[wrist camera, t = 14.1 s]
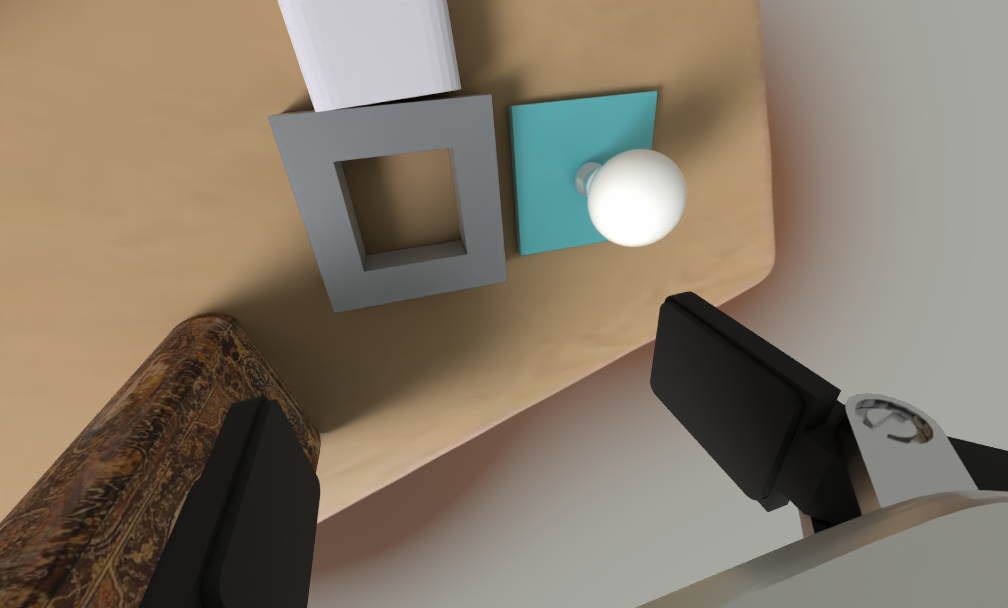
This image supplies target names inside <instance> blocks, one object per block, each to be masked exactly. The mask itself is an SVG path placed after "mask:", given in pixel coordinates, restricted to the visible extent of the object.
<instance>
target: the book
mask: <svg viewBox="0 0 1008 608" xmlns="http://www.w3.org/2000/svg"><path fill="white" fill-rule="evenodd" d="M261 395H265V396H266V397H267V398H268V399H269V400H273V399H276V400H277V401H278V402H279V403H280V405H281V407H282V409H283V411H284V413H285V415H286V417H287V419H288V421H289V422H290V424H291V426H292V428H293V430H294V432H295V434H296V436H297V438H298V440H299V442H300V444H301V446H302V448H303V450H304V452H305V453H306V455H307V457H308V459H309V461H310V463H311V465H312V467H313V469H314V471H315V473H316V469H317V464H318V459H319V453H320V445H321V440H320V435H319V433H318V431H317V430H316V429H315V427H314V426H313V424H312V423H311V421H310V420H309V418H308V417H307V416H306V414H305V413H304V411H303V410H302V409H301V407H300V406H299V405H298V403H297V402H296V400H295V399H294V398H293V396H292V395H291V394H290V392H289V391H288V390H287V388H286V387H285V386H284V384H283V383H282V382H281V380H280V379H279V377H278V376H277V375H276V373H275V372H274V371H273V369H272V368H271V367H270V365H269V364H268V363H267V361H266V360H265V359H264V357H263V356H262V355H261V353H260V352H259V350H258V349H257V348H256V346H255V345H254V344H253V342H252V341H251V340H250V338H249V337H248V336H247V334H246V333H245V332H244V330H243V329H242V328H241V326H240V325H239V323H238V322H237V321H236V319H234V318H232V317H229V316H226V315H220V314H208V315H201V316H197V317H193V318H190V319H188V320H186V321H183V322H182V323H180V324H179V325H177V326H176V327H175V328H174V329H173V330H172V331H171V332H170V334H169V335H168V336H167V337H166V338H165V339H164V340H163V341H162V342H161V344H160V345H159V346H158V347H157V348H156V349H155V350H154V351H153V353H152V354H151V355H150V356H149V357H148V358H147V359H146V360H145V362H144V363H143V364H142V365H141V366H140V367H139V368H138V369H137V370H136V372H135V373H134V374H133V375H132V376H131V377H130V378H129V379H128V381H127V382H126V383H125V384H124V385H123V386H122V387H121V388H120V390H119V391H118V392H117V393H116V394H115V395H114V396H113V397H112V398H111V400H110V401H109V402H108V403H107V404H106V405H105V406H104V407H103V409H102V410H101V411H100V412H99V413H98V414H97V415H96V416H95V418H94V419H93V420H92V421H91V422H90V423H89V424H88V425H87V426H86V428H85V429H84V430H83V431H82V432H81V433H80V434H79V435H78V437H77V438H76V439H75V440H74V441H73V442H72V443H71V444H70V446H69V447H68V448H67V449H66V450H65V451H64V452H63V453H62V454H61V456H60V457H59V458H58V459H57V460H56V461H55V462H54V463H53V465H52V466H51V467H50V468H49V469H48V470H47V471H46V472H45V474H44V475H43V476H42V477H41V478H40V479H39V480H38V481H37V482H36V484H35V485H34V486H33V487H32V488H31V489H30V490H29V491H28V493H27V494H26V495H25V496H24V497H23V498H22V499H21V500H20V502H19V503H18V504H17V505H16V506H15V507H14V508H13V509H12V510H11V512H10V513H9V514H8V515H7V516H6V517H5V518H4V519H3V521H2V522H1V523H0V608H138V607H139V605H140V603H141V600H142V598H143V596H144V594H145V591H146V589H147V587H148V584H149V582H150V580H151V577H152V575H153V573H154V571H155V568H156V566H157V564H158V561H159V559H160V557H161V554H162V552H163V550H164V548H165V545H166V543H167V541H168V538H169V536H170V534H171V531H172V529H173V527H174V524H175V522H176V520H177V518H178V515H179V513H180V511H181V508H182V506H183V504H184V501H185V499H186V497H187V495H188V492H189V490H190V488H191V487H192V485H193V483H194V482H195V481H196V480H197V479H198V478H199V477H200V476H201V474H202V472H203V469H204V467H205V464H206V462H207V460H208V457H209V455H210V453H211V450H212V448H213V445H214V443H215V441H216V438H217V436H218V434H219V431H220V429H221V427H222V424H223V422H224V419H225V417H226V415H227V412H228V410H229V408H230V406H231V404H232V403H234V402H236V401H241V400H245V399H249V398H253V397H257V396H261Z"/></svg>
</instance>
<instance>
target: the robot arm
mask: <svg viewBox="0 0 1008 608" xmlns="http://www.w3.org/2000/svg"><path fill="white" fill-rule="evenodd" d="M650 384H651V388H652V390H653V392H654V394H655V395H656V396H657V397H658V398H659V399H660V400H661V401H662V403H663V404H664V405H665V406H666V407H667V408H668V409H669V410H670V411H671V413H672V414H673V415H674V416H675V417H676V418H677V419H678V420H679V421H680V423H681V424H682V425H683V426H684V427H685V428H686V429H687V430H688V431H689V433H690V434H691V435H692V436H693V437H694V438H695V439H696V440H697V441H698V442H699V444H700V445H701V446H702V447H703V448H704V449H705V450H706V451H707V452H708V454H709V455H710V456H711V457H712V458H713V459H714V460H715V461H716V462H717V463H718V465H719V466H720V467H721V468H722V469H723V470H724V471H725V472H726V473H727V474H728V476H729V477H730V478H731V479H732V480H733V481H734V482H735V483H736V484H737V486H738V487H739V488H740V489H741V490H742V491H743V492H744V493H745V494H746V495H747V496H748V497H749V498H751V499H753V500H757V501H758V502H759V503H760V504H761V505H762V507H764V509H765V510H766V511H767V512H770V511H772V510H775V509H777V508H780V507H782V506H785V505H787V504H788V502H789V500H790V501H791V502H792V503H793V504H794V505H795V506H796V507H797V508H798V510H799V516H800V521H801V526H802V532H803V537H804V538H803V539H801V540H799V541H796V542H794V543H791V544H789V545H786V546H784V547H781V548H779V549H777V550H774V551H772V552H769V553H767V554H765V555H762V556H760V557H757V558H755V559H752V560H750V561H748V562H745V563H743V564H740V565H738V566H735V567H733V568H731V569H728V570H726V571H723V572H721V573H718V574H716V575H713V576H711V577H708V578H706V579H703V580H701V581H699V582H696V583H694V584H691V585H689V586H687V587H684V588H682V589H679V590H677V591H675V592H672V593H670V594H667V595H665V596H663V597H660V598H658V599H655V600H653V601H651V602H649V603H646V604H643V605H641V606H638V607H636V608H1008V451H1005V450H1002V449H997V448H993V447H989V446H985V445H981V444H976V443H973V442H968V441H964V440H960V439H956V438H951V437H947V436H946V435H945V433H944V431H943V430H942V429H941V427H940V426H939V425H938V424H937V423H936V421H935V420H933V419H932V418H931V417H929V416H928V415H927V414H926V413H924V412H923V411H921V410H919V409H917V408H916V407H914V406H912V405H910V404H908V403H905V402H903V401H900V400H897V399H895V398H891V397H887V396H883V395H878V394H868V393H866V394H857V395H854V396H852V397H850V398H849V399H848V400H847V402H846V403H845V405H843V404H842V403H840V402H839V401H838V400H837V398H838V396H839V394H840V392H841V390H840V389H838V388H837V387H835V386H834V385H832V384H831V383H829V382H828V381H826V380H825V379H823V378H822V377H820V376H819V375H817V374H815V373H814V372H813V371H811V370H809V369H808V368H807V367H805V366H803V365H802V364H800V363H799V362H797V361H796V360H794V359H793V358H791V357H790V356H788V355H787V354H785V353H784V352H782V351H781V350H779V349H778V348H776V347H775V346H773V345H772V344H770V343H769V342H767V341H765V340H764V339H763V338H761V337H760V336H758V335H756V334H755V333H754V332H752V331H750V330H749V329H747V328H746V327H744V326H743V325H741V324H740V323H739V322H737V321H735V320H734V319H732V318H731V317H729V316H728V315H726V314H725V313H723V312H722V311H720V310H719V309H717V308H716V307H714V306H713V305H711V304H710V303H708V302H707V301H705V300H704V299H702V298H701V297H699V296H698V295H696V294H695V293H693V292H684V293H680V294H675V295H671V296H669V297H667V298H666V300H665V302H664V303H663V304H662V305H661V307H660V312H659V320H658V327H657V334H656V342H655V349H654V357H653V364H652V371H651V378H650ZM319 500H320V483H319V479H318V477H317V475H316V473H315V471H314V469H313V467H312V465H311V463H310V461H309V459H308V457H307V455H306V453H305V452H304V450H303V448H302V446H301V444H300V442H299V440H298V438H297V436H296V434H295V432H294V430H293V428H292V426H291V424H290V422H289V421H288V419H287V417H286V415H285V413H284V411H283V409H282V407H281V405H280V403H279V402H278V401H277V400H276V399H273V400H269V399H268V398H267V397H266V396H265V395H261V396H257V397H253V398H249V399H245V400H241V401H236V402H234V403H232V404H231V406H230V408H229V410H228V412H227V415H226V417H225V419H224V422H223V424H222V427H221V429H220V431H219V434H218V436H217V438H216V441H215V443H214V445H213V448H212V450H211V453H210V455H209V457H208V460H207V462H206V464H205V467H204V469H203V472H202V474H201V476H200V477H199V478H198V479H197V480H196V481H195V482H194V483H193V485H192V487H191V488H190V490H189V492H188V495H187V497H186V499H185V501H184V504H183V506H182V508H181V511H180V513H179V515H178V518H177V520H176V522H175V524H174V527H173V529H172V531H171V534H170V536H169V538H168V541H167V543H166V545H165V548H164V550H163V552H162V554H161V557H160V559H159V561H158V564H157V566H156V568H155V571H154V573H153V575H152V577H151V580H150V582H149V584H148V587H147V589H146V591H145V594H144V596H143V598H142V600H141V603H140V605H139V607H138V608H307V603H308V594H309V586H310V577H311V569H312V560H313V552H314V543H315V534H316V525H317V517H318V509H319Z"/></svg>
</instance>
